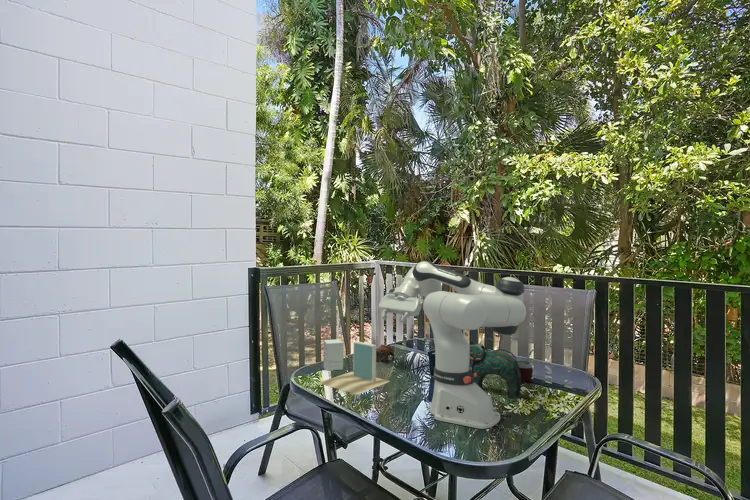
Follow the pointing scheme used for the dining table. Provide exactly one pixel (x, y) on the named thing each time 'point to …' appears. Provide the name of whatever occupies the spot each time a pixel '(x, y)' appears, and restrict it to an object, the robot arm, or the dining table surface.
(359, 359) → the tile
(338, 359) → the supplement box
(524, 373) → the mate gourd
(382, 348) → the brown animal figurine
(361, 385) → the board
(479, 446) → the dining table surface
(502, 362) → the ceramic cat
